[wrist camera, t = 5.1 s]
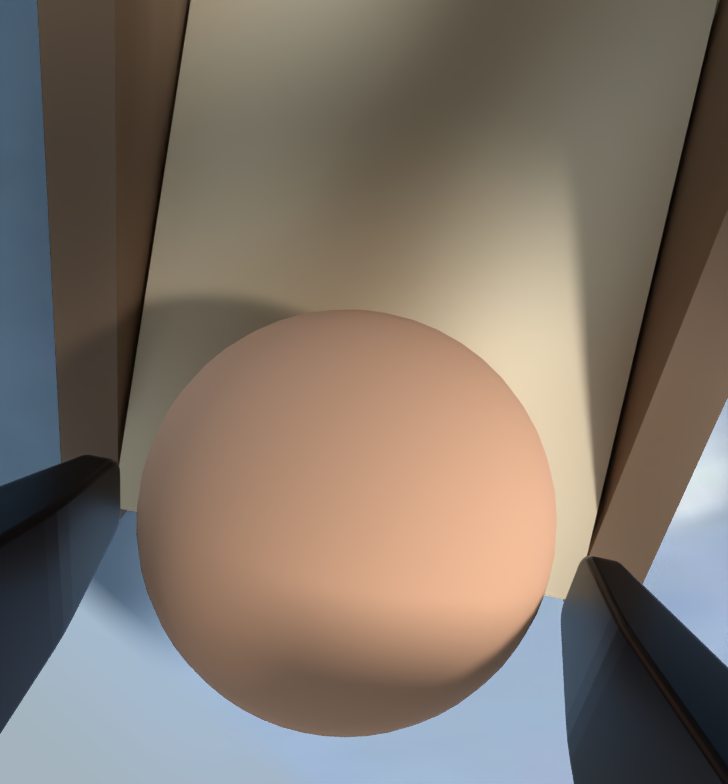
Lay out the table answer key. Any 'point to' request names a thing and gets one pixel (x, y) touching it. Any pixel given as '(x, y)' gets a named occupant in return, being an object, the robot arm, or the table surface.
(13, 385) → the table surface
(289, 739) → the table surface
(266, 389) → the ball
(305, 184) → the brown wooden open box
